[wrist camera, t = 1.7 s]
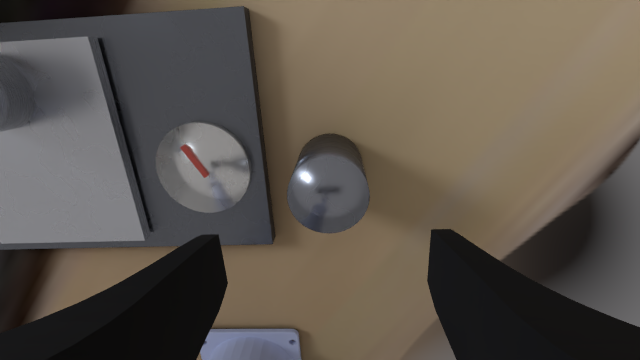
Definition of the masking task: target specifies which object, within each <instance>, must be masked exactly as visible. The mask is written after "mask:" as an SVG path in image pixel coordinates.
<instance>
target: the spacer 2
mask: <svg viewBox="0 0 640 360" xmlns="http://www.w3.org/2000/svg"><path fill="white" fill-rule="evenodd" d="M369 197H370V195H369V188H368V183H367V179H366V175H365V171H364V166H363V162H362V158H361V154H360V152H359V150H358V148H357V147H356V145H355V144H354V143H353V142H352V141H350V140H349V139H347V138H346V137H344V136H341V135H338V134H323V135H319V136H317V137H315V138H313V139H312V140H310V141H309V142H308V143H307V144H306V145H305V146H304V148H303V149H302V151H301V153H300V156H299V159H298V161H297V164H296V167H295V169H294V172H293V174H292V177H291V180H290V182H289V186H288V190H287V200H288V204H289V208H290V210H291V212H292V214H293V215H294V217H295V218H296V219H297V220H298V221H299V222H300V223H301V224H302V225H304V226H305V227H307V228H309V229H311V230H313V231H317V232H321V233H337V232H341V231H344V230H347V229H349V228H351V227H352V226H354V225H355V224H356V223H358V222H359V220H360V219H361V218H362V217H363V216H364V214H365V212H366V210H367V208H368V204H369Z"/></svg>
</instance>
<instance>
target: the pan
mask: <svg viewBox="0 0 640 360" xmlns="http://www.w3.org/2000/svg"><path fill="white" fill-rule="evenodd" d="M0 57H1V58H3V59H5V60H7V61H8V62H10V63H11V64H13V65H14V66H15V67H16V68H17V69H18V70H19V71H20V72H21V73H22V74H23V75H24V77H25V78H26V80H27V81H28V83H29V85H30V87H31V89H32V92H33V96H34V103H35V106H34V112H33V115H32V117H31V119H30V120H29V121H28V123H26V124H25V125H24V126H22V127H19V128H15V129H11V130H6V131H2V132H0V244H8V243H55V242H102V241H145V240H146V239H147V238H148V237H149V236H150V235H151V234H150V230H149V226H148V223H147V219H146V215H145V212H144V208H143V204H142V201H141V197H140V193H139V190H138V186H137V182H136V178H135V175H134V171H133V167H132V164H131V160H130V156H129V153H128V149H127V145H126V142H125V138H124V134H123V131H122V127H121V123H120V120H119V116H118V112H117V108H116V105H115V101H114V97H113V94H112V90H111V86H110V83H109V79H108V75H107V72H106V68H105V64H104V61H103V57H102V53H101V49H100V46H99V42H98V38H97V37H72V38H57V39H42V40H26V41H11V42H0Z"/></svg>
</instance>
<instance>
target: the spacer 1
mask: <svg viewBox="0 0 640 360" xmlns="http://www.w3.org/2000/svg"><path fill="white" fill-rule="evenodd" d="M34 106H35V103H34V96H33V92H32V89H31V87H30V85H29V83H28V81H27V80H26V78H25V77H24V75H23V74H22V73H21V72H20V71H19V70H18V69H17V68H16V67H15V66H14V65H13V64H11V63H10V62H8V61H7V60H5V59H3V58H1V57H0V132H2V131H6V130H11V129H15V128H19V127H22V126H24V125H25V124H26V123H28V121H29V120H30V119H31V117H32V115H33V112H34Z"/></svg>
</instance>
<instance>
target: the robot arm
mask: <svg viewBox="0 0 640 360" xmlns="http://www.w3.org/2000/svg"><path fill="white" fill-rule="evenodd" d="M427 281H428V285H429V289H430V293H431V296H432V300H433V303H434V307H435V310H436V312H437V315H438V317H439V319H440V322H441V324H442V327H443V329H444V331H445V334H446V336H447V338H448V341H449V343H450V345H451V348H452V350H453V352H454V355H455V357H456V359H457V360H640V327H637V326H635V325H632V324H629V323H627V322H624V321H621V320H618V319H616V318H614V317H611V316H609V315H606V314H604V313H601V312H599V311H597V310H594V309H592V308H589V307H587V306H585V305H582V304H580V303H578V302H575V301H573V300H571V299H569V298H567V297H565V296H563V295H561V294H559V293H557V292H555V291H553V290H550V289H549V288H546V287H544V286H543V285H541V284H539V283H537V282H535V281H533V280H531V279H529V278H527V277H526V276H524V275H523V274H521V273H519V272H517V271H516V270H514V269H512V268H510V267H509V266H507V265H505V264H504V263H502V262H501V261H499V260H497V259H496V258H494V257H493V256H491V255H490V254H488V253H486V252H485V251H483V250H482V249H480V248H479V247H477V246H476V245H474V244H473V243H471V242H470V241H468V240H467V239H465V238H464V237H462V236H461V235H459V234H458V233H456V232H454V231H453V230H451V229H434V230H431V240H430V253H429V266H428V279H427ZM227 284H228V282H227V276H226V271H225V266H224V260H223V255H222V250H221V244H220V239H219V234H206V235H200V236H198V237H196V238H194V239H192V240H190V241H188V242H187V243H185V244H183V245H182V246H180V247H179V248H177V249H175V250H174V251H172V252H171V253H169V254H167V255H166V256H164V257H162V258H161V259H159V260H158V261H156V262H154V263H153V264H151V265H149V266H148V267H146V268H144V269H142V270H141V271H139V272H137V273H135V274H134V275H132V276H130V277H128V278H127V279H125V280H123V281H121V282H120V283H118V284H116V285H114V286H112V287H110V288H108V289H106V290H104V291H102V292H100V293H98V294H96V295H94V296H92V297H90V298H88V299H86V300H83V301H81V302H79V303H77V304H74V305H72V306H70V307H67V308H65V309H62V310H60V311H58V312H55V313H53V314H50V315H48V316H46V317H43V318H41V319H38V320H36V321H33V322H31V323H28V324H25V325H22V326H20V327H17V328H14V329H12V330H9V331H6V332H3V333H0V360H196V359H197V357H198V355H199V352H200V353H201V357H202V360H301V350H300V340H299V333H298V331H297V330H295V329H211V327H212V325H213V323H214V321H215V319H216V316H217V314H218V312H219V310H220V307H221V304H222V301H223V298H224V294H225V291H226V287H227ZM292 340H294V341H292Z"/></svg>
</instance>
